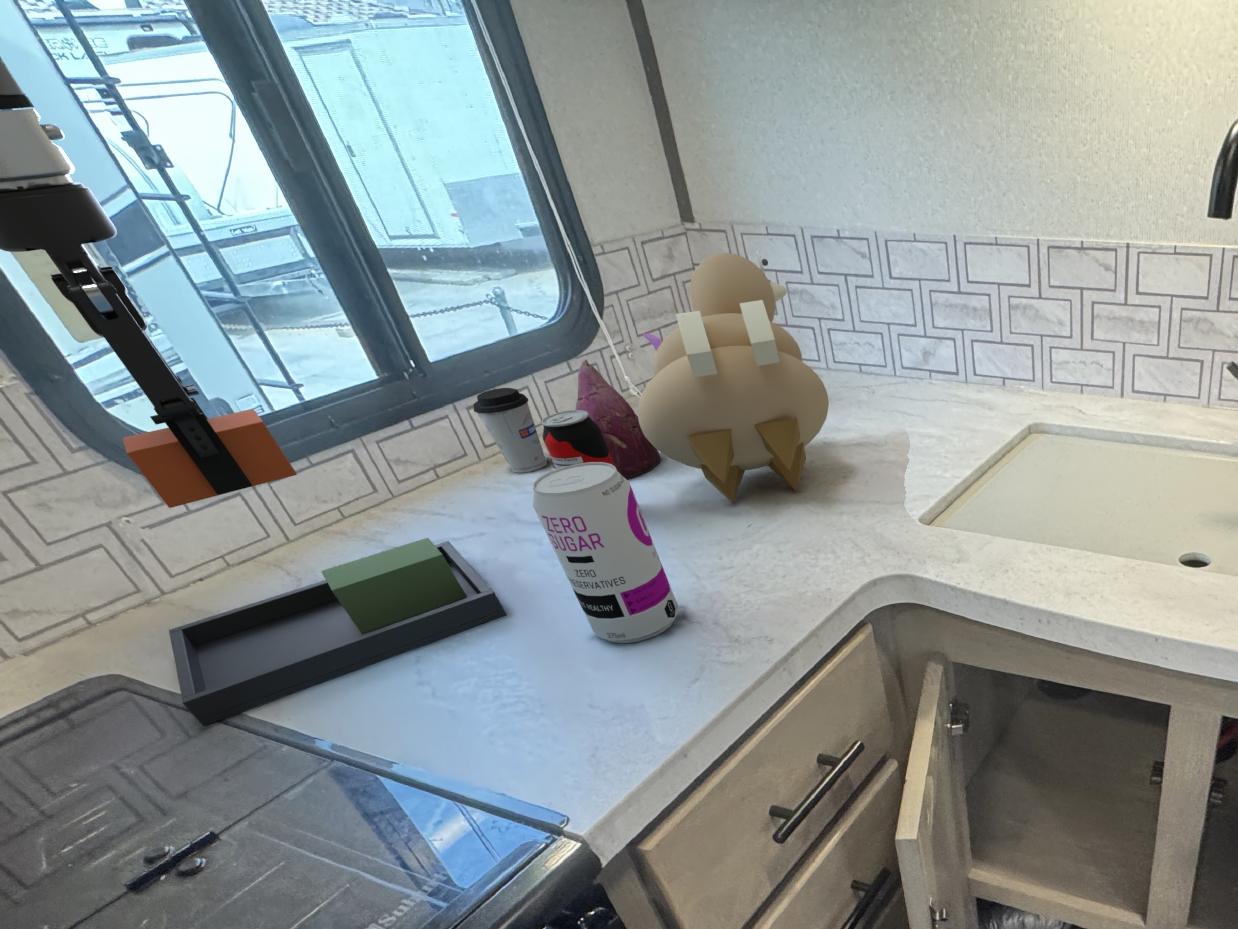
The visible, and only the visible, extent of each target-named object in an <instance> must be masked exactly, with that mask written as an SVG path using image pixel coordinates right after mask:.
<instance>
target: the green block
mask: <svg viewBox="0 0 1238 929" xmlns="http://www.w3.org/2000/svg"><path fill="white" fill-rule="evenodd" d="M435 545H436V544H434V542H432V540H431V539H430V538H429V537H425V538H421V539H419V540H416V541H412V542H410V543H406V544H403V545H399V546H396V547H392V548H390V549H386V550H384V551H380V552H377V553H374V554H371V555H368V556H365V557H364V556H363V557H362V558H358V559H354V560H352V561H348V562H345V563H342V564H339V565H336V566H333V567H329V568H326V569H323V570H321V574H322V576H323V577H324V580H326V581H327V583H328V585H329V587H330V588H331V590H332V592H333V593H334V595H335V596H336V597H337V599H338V600H339V602H340V603H341V605H342V606H343V608H344V609H345V610H346V612H347V613H348V615H349V616H350V618H351V619H352V621H353V622H354V623H355V625H356V626H357V628H358V629H359V631H360V632H361V633H362V634H364V633H367V632H370V631H373V630H376V629H378V628H381V627H384V626H387V625H390V624H393V623H395V622H398V621H401V620H404V619H407V618H410V617H412V616H415V615H418V614H421V613H424V612H427V611H429V610H432V609H435V608H438V607H441V606H444V605H447V604H449V603H452V602H455V601H458V600H461V599H464V598H466V597H467V596H466V594H465V593H464V591H463V589H462V587H461V586H460V584H459V582H458V580H457V579H456V577H455V575H454V573H453V572H452V570H451V568H450V567H449V565H448V563H447V561H446V560H445V558H444V556H443V555H442V553H441V552H440V551H439V550H438V549H437V547H436V546H435Z"/></svg>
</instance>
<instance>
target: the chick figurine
mask: <svg viewBox="0 0 1238 929" xmlns="http://www.w3.org/2000/svg"><path fill="white" fill-rule="evenodd" d="M755 253H756V257H757V261H758V265H759V266H758V265H757V264H756V263H754V262H753V261H751V260H750V259H749V258H746V257H744V256H742V255H739V254H736V253H731V252H730V253H729V252H724V253H723V252H722V253H721V252H720V253H716V254H713V255H710V256H708V257H706V258H704V259H703V260H702V261H701V262H700V264H699V265H697V266H696V268H695V270H694V272H693V274H692V276H691V279H690V284H689V298H690V302H691V307H692V310H693V311H687V312H680V313H676V314H675V316H676V320H677V324H678V327H677V328H675V329H674V330H673V331H671V332H670V333H669V334H668V335H666V337H665V338H664V339H663V340H662V341H663V342H662V343H661V344H660V346H659V347H658V349H657V352H656V351H655V354H654V358H653V366H652V367H653V373H654V376H653V377H652V378H651V379H650V381H649V382H648V383H647V384H646V386H645V388H644V389H643V391H642V393H641V395H640V397H639V401H638V404H637V405H638V406H637V416H638V420H639V424H640V427H641V429H642V431H643V434H644V436H645V437H646V438H647V439H648V441H649V442H650V443H651V444H652V445H653V446H654V447H655V448H656V449H657V450H658V452H659V453H661V454H662V455H664V456H666V457H667V458H669V459H671V460H672V461H675V462H678V463H679V464H682V465H684V466H685V465H686V466H687V467H691V468H695V469H700V470H701V471H702V473H703V476H704V478H705V479H706V480H707V481H708V482H709V483H710V484H712V486H714V488H715V489H717V490H718V491H719V492H720V493H721V494H722V496H724V497H725V498H726V499H727V500H728V501H729V502H730V503H731V504H734V502H735V499H736V496H737V494H738V490H739V487H740V485H741V482H742V479H743V477H744V473H745V471H748V470H755V469H759V468H763V467H767V466H768V467H769V469H771V470H772V471H773V472H774V473H776V475H777V476H779V477H780V479H782V480H783V481H784V482H785V483H786V484H787V485H788V486H789V487H790V488H791V489H792V490H794V491H795V492H797V490H798V486H799V483H800V480H801V476H802V474H803V470H804V466H805V464H806V460H807V456H806V450H805V447H807V446H808V445H809V444H810V443H811V441H812V440H814V439H815V438H816V437H817V435H818V434H820V431H821V429H822V428H823V427H824V426H823V425H824V424H825V422H826V420H827V417H828V413H829V406H830V405H829V404H830V403H829V402H830V401H829V395H828V392H827V389H826V388H827V387H826V386H825V384H824V382H823V380H822V379H821V377H819V375H818V373H816V372H815V371H814V370H813V368H811V367H810V366H809V365H808V364H806V363H805V362H803V355H802V352H801V348H800V346H799V344H798V342H797V341H796V339H795V338H794V337H793V336H792V334H790V332H788V331H787V330H786V329H785V328H784V327H782V326H780V325H778V324H777V323H776V322H773V321H774V317H775V313H776V302H779V301H780V300H782V299H783V298H784V297H785V296H786V295H787V293H788V288H787V287H786V286H785V285H783V284H780V283H778V282H773V281H769V279H768V277H767V276H766V272H765V268H764V267H767V266H768V265H769V261H768V259H766V258H761V254H760V251H759V250H756V251H755Z"/></svg>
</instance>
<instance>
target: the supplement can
mask: <svg viewBox="0 0 1238 929" xmlns="http://www.w3.org/2000/svg"><path fill="white" fill-rule="evenodd" d="M532 490H533V498H532V499H533V500H532V507H533V510H534V512H535V514H536V516H537V518H538V519H539V522H540V524H541V526H542V528H543V530H544V532H545V534H546V536H547V539H548V541H549V543H550V545H551V546H552V549H553V551H554V553H555V555H556V557H557V559H558V561H559V564H560V566H561V568H562V569H563V572H564V574H565V576H566V578H567V580H568V582H569V584H570V586H571V588H572V590H573V593H574V594H575V597H576V598H577V601H578V603H579V604H580V605H579V606H580V608H581V609H582V612H583V613H584V616H585V618H586V619H587V622H588V624H589V626H590V629H591V630H592V632H593V633H594V634H595V636H597V637H598V638H601V639H605V640H606V641H608V642H611V643H615V644H630V643H636V642H637V643H638V642H642V641H645V640H648V639H651V638H653V637H655V636H657V635H659V634H662V633H664V632H665V631H666V630H667V629H669V628H670V627H671V626H672V625H673V623H674V622H675V620H676V617H677V616H678V614H679V612H680V611H679V605H678V603H677V600H676V597H675V594H674V592H673V590H672V587H671V584H670V582H669V579H668V576H667V574H666V572H665V570H664V566H663V564H662V561H661V559H660V557H659V554H658V551H657V549H656V546H655V543H654V542H653V539H652V536H651V534H650V531H649V528H648V526H647V524H646V521H645V518H644V516H643V513H642V511H641V507H640V506H639V503H638V501H637V497H636V495H635V493H634V491H633V488H632V485H631V483H630V481H629V480H628V479H625V478H624V477H623V476H622V475H621V474H620V473H619V472H618V471H617V469H616V467H615V466H613V465H612V464H608V463H603V462H588V463H580V464H574V465H570V466H566V467H562V468H559V469H556V468H555V469H554V470H550V471H548V472H546V473H544V474H543V475H540V476H539V477H538V478H537V479H535V480H534V481H533V482H532Z"/></svg>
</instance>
